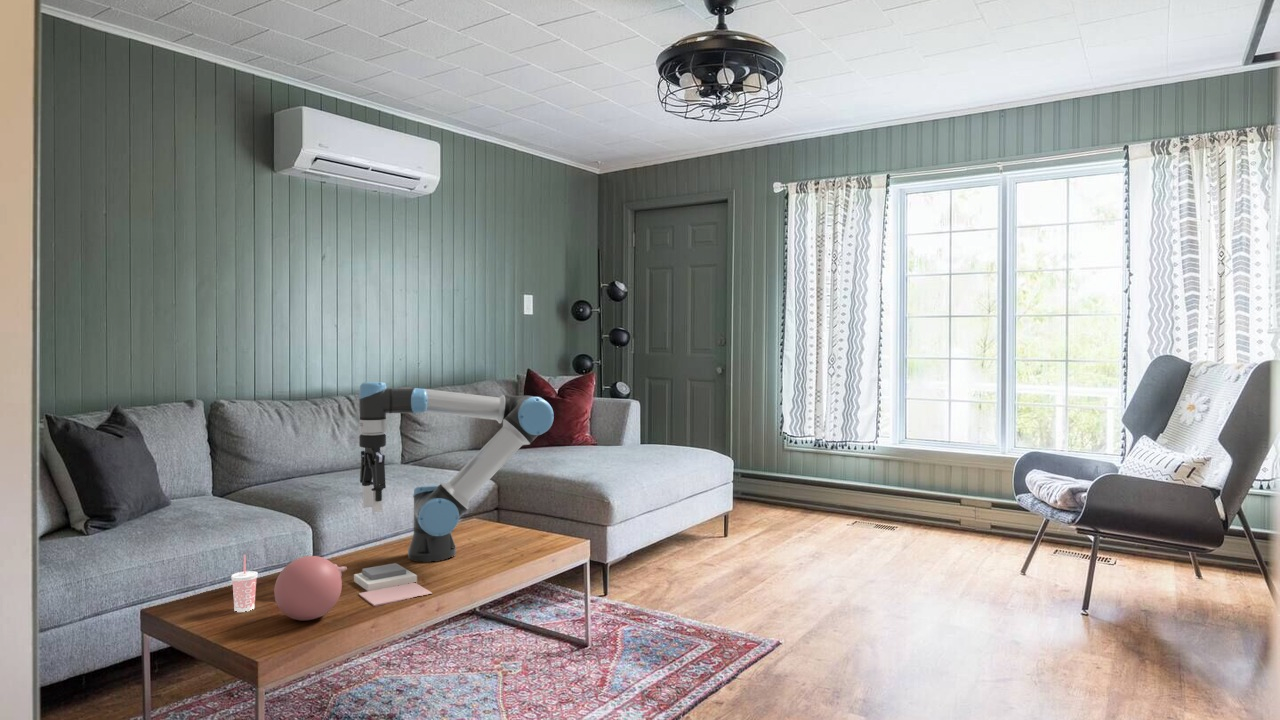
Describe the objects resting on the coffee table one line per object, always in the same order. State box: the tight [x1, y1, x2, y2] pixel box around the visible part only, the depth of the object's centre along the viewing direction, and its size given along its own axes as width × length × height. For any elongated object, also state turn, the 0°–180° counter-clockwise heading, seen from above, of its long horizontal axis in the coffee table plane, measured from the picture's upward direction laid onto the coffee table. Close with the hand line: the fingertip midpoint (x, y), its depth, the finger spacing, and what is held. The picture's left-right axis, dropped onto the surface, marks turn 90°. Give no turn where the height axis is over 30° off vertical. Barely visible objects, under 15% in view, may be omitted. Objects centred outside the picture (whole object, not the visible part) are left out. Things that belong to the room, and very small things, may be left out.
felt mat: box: [358, 582, 433, 607], centre depth 207 cm, size 16×12×1 cm
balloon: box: [273, 555, 348, 621], centre depth 190 cm, size 15×20×15 cm
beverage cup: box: [230, 554, 259, 613], centre depth 194 cm, size 6×6×14 cm
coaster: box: [361, 562, 407, 580], centre depth 219 cm, size 10×8×2 cm
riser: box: [353, 568, 418, 592], centre depth 218 cm, size 14×12×2 cm
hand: (372, 509), depth 226 cm, fingers open, 8 cm apart
